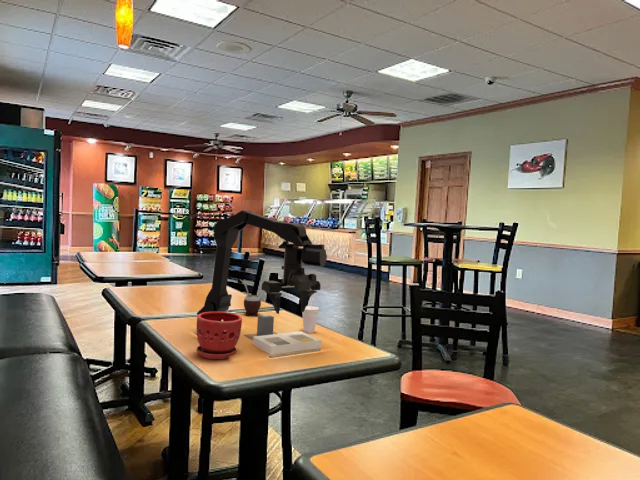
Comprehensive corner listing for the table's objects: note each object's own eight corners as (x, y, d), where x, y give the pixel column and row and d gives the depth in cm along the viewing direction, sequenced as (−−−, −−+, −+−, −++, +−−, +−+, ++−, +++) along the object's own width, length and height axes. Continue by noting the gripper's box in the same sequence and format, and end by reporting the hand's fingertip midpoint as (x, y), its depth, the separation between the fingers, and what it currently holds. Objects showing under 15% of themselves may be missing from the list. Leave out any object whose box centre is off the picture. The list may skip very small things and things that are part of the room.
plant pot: (201, 364, 132) (203, 321, 132) (190, 350, 144) (192, 311, 143) (246, 359, 138) (248, 319, 138) (232, 347, 150) (234, 309, 149)
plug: (262, 338, 158) (263, 316, 158) (256, 335, 162) (257, 314, 161) (272, 337, 161) (273, 316, 160) (267, 334, 164) (268, 313, 164)
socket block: (270, 358, 141) (271, 345, 141) (252, 347, 151) (253, 335, 151) (320, 351, 151) (321, 339, 151) (300, 341, 161) (301, 330, 161)
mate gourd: (263, 315, 198) (265, 279, 197) (251, 318, 191) (253, 281, 191) (249, 312, 202) (251, 277, 201) (237, 315, 195) (239, 279, 195)
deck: (254, 344, 154) (254, 341, 154) (242, 337, 161) (242, 334, 161) (286, 340, 161) (286, 337, 161) (273, 334, 168) (273, 331, 168)
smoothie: (315, 337, 168) (317, 298, 167) (298, 335, 169) (300, 296, 168) (319, 333, 174) (321, 295, 173) (302, 331, 175) (304, 293, 174)
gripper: (280, 267, 137) (277, 320, 138) (332, 266, 147) (329, 315, 148) (262, 262, 146) (259, 312, 147) (312, 262, 157) (309, 308, 157)
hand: (290, 312), depth 150 cm, fingers open, 9 cm apart
